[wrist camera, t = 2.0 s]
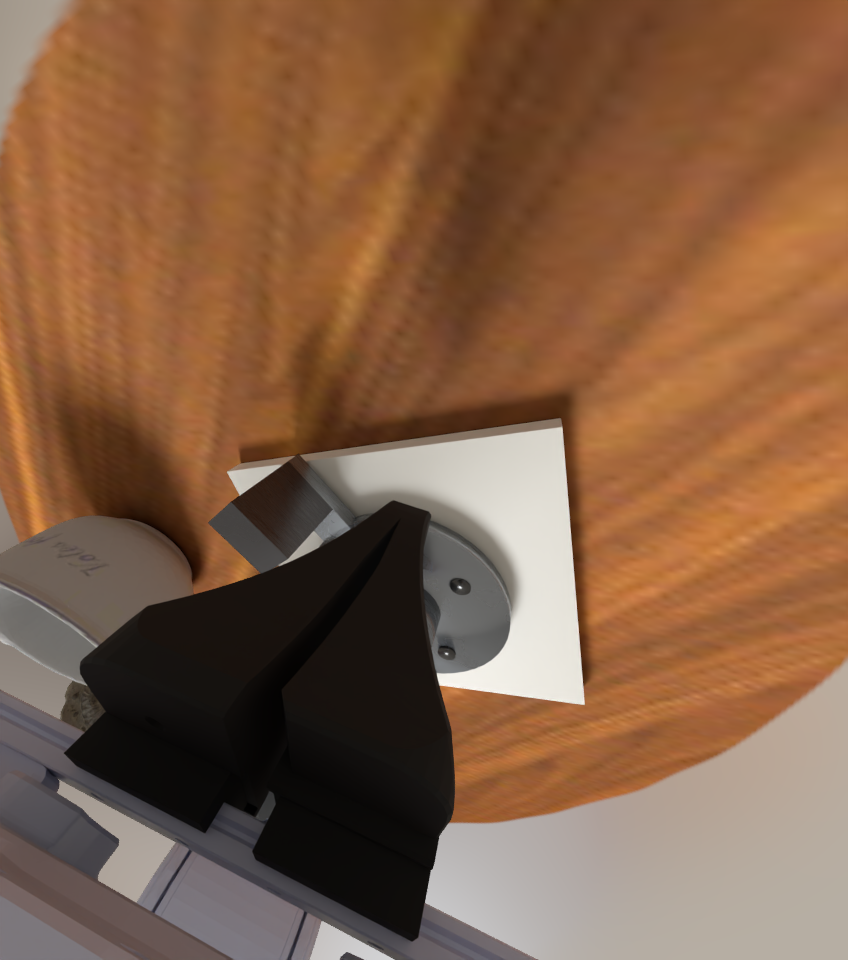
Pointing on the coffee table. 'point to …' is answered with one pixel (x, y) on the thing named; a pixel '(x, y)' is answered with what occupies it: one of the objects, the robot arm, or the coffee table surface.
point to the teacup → (84, 586)
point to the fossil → (81, 707)
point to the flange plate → (315, 507)
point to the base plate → (480, 533)
